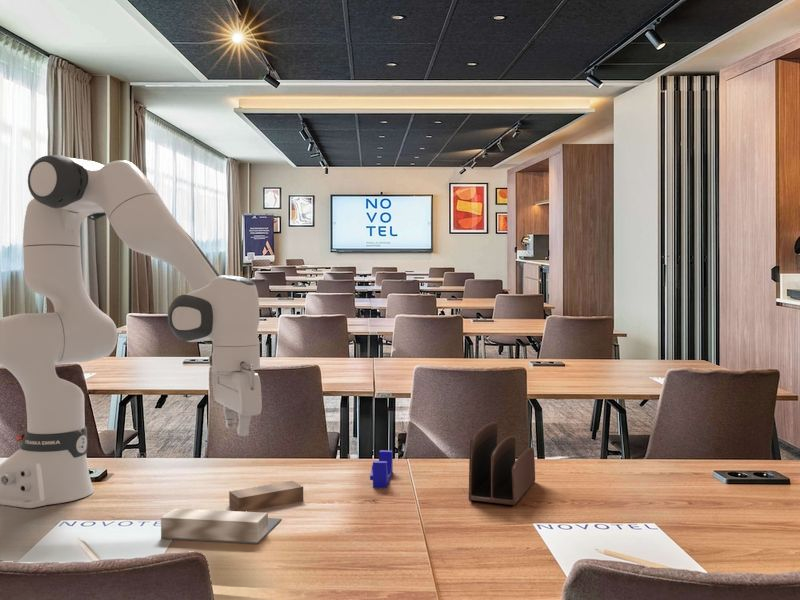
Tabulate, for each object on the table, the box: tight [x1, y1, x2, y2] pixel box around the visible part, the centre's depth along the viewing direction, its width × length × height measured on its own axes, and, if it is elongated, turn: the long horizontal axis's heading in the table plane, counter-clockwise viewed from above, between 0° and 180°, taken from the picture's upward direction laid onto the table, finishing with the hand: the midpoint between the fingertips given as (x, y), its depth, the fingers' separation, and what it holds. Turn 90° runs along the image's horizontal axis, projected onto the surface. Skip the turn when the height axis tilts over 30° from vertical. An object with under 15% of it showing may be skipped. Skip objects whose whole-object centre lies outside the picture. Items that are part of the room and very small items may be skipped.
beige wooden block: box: [160, 507, 269, 542], centre depth 131 cm, size 18×5×4 cm, turn 81°
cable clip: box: [369, 449, 394, 489], centre depth 167 cm, size 12×4×6 cm, turn 174°
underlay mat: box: [160, 517, 282, 545], centre depth 135 cm, size 18×13×1 cm
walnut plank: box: [228, 480, 304, 512], centre depth 150 cm, size 14×6×4 cm, turn 123°
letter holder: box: [468, 421, 536, 506], centre depth 159 cm, size 10×20×14 cm, turn 157°
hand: (236, 431), depth 140 cm, fingers open, 6 cm apart
